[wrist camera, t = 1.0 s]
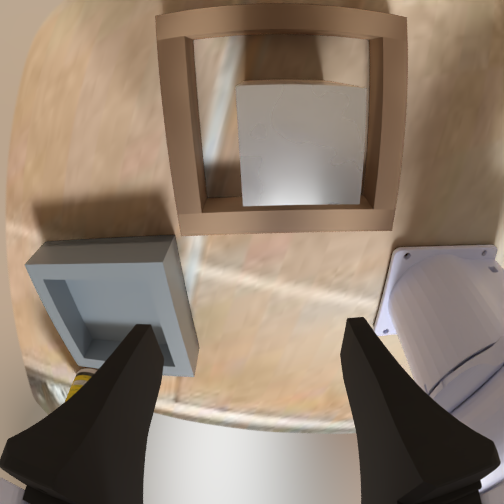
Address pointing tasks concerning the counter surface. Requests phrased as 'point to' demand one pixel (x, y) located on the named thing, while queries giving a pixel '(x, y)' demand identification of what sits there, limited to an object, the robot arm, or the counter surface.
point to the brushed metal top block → (301, 141)
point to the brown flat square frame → (283, 22)
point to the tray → (116, 297)
